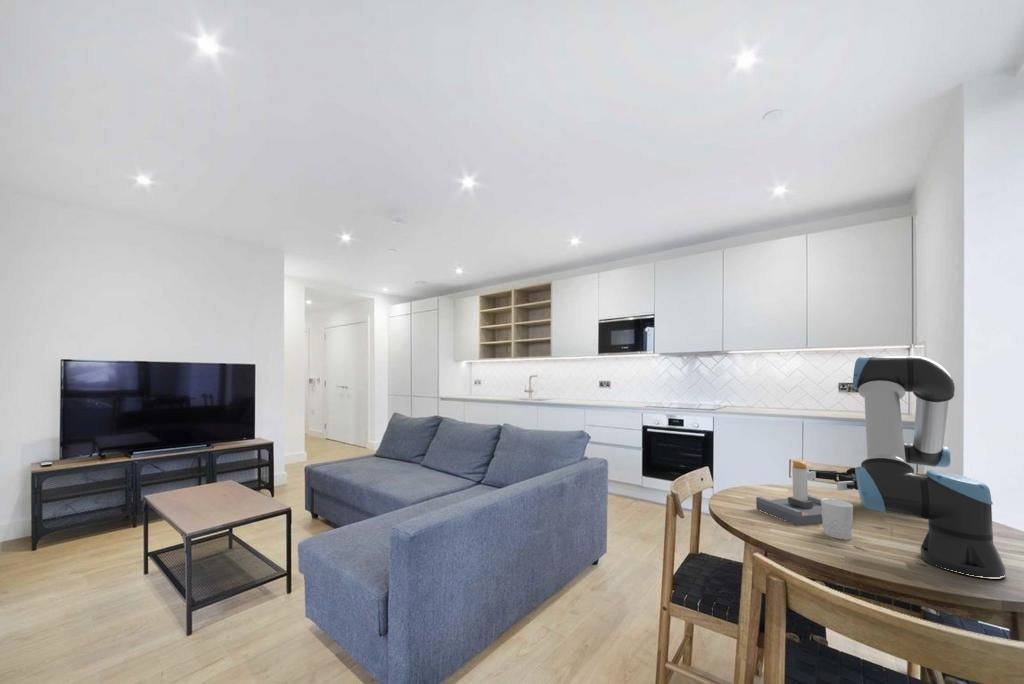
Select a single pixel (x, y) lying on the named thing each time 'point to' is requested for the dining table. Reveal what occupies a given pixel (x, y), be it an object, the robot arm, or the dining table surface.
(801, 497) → the breaker handle
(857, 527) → the dining table surface
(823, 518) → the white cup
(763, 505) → the base
